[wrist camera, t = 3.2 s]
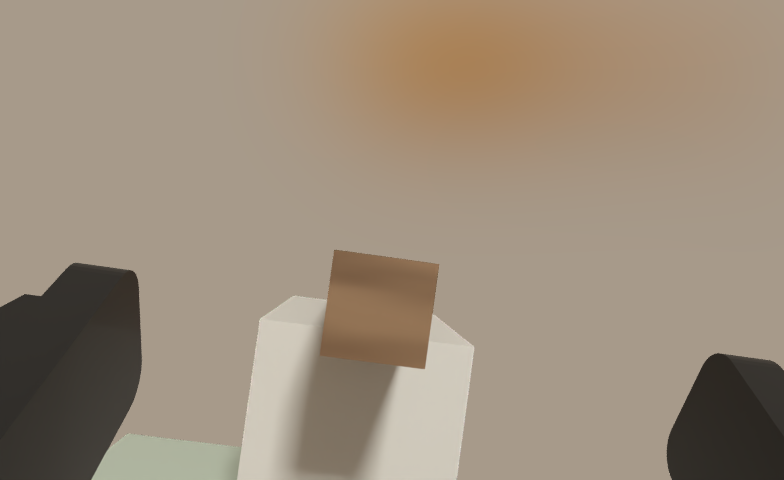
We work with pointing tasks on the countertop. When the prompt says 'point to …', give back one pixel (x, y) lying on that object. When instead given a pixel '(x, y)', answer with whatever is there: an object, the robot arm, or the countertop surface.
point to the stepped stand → (323, 414)
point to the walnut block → (379, 309)
